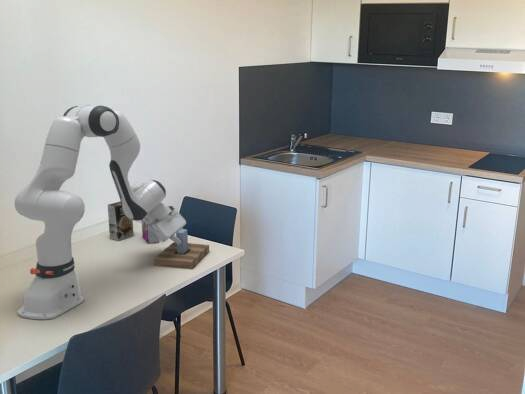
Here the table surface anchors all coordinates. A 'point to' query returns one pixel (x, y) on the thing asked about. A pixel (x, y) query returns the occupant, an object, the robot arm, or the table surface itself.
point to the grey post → (183, 246)
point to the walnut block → (181, 256)
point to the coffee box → (119, 222)
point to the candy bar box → (148, 231)
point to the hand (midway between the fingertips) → (183, 240)
